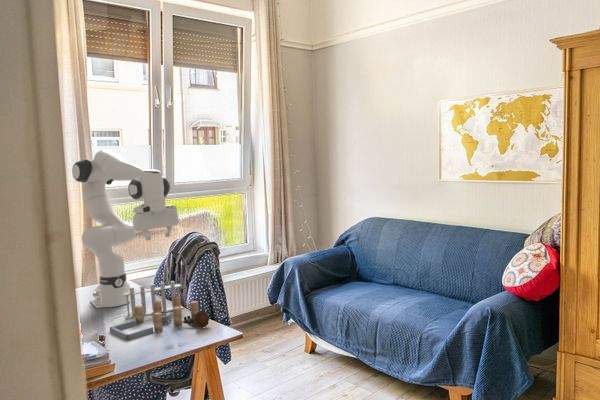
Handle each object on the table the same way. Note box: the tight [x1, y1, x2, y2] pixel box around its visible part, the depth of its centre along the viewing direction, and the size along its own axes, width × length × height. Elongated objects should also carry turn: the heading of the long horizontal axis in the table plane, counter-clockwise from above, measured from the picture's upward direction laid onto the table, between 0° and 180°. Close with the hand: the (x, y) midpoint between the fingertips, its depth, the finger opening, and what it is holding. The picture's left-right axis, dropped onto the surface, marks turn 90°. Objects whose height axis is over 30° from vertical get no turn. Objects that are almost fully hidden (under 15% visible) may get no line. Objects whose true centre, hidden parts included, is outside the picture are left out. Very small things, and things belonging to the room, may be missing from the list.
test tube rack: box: [123, 280, 184, 320], centre depth 217 cm, size 25×4×13 cm, turn 116°
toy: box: [182, 310, 210, 329], centre depth 199 cm, size 10×7×15 cm
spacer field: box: [134, 295, 200, 333], centre depth 206 cm, size 19×21×7 cm
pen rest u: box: [109, 319, 154, 341], centre depth 194 cm, size 15×11×2 cm
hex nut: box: [161, 312, 172, 325], centre depth 204 cm, size 6×5×3 cm
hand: (158, 238), depth 209 cm, fingers open, 8 cm apart
